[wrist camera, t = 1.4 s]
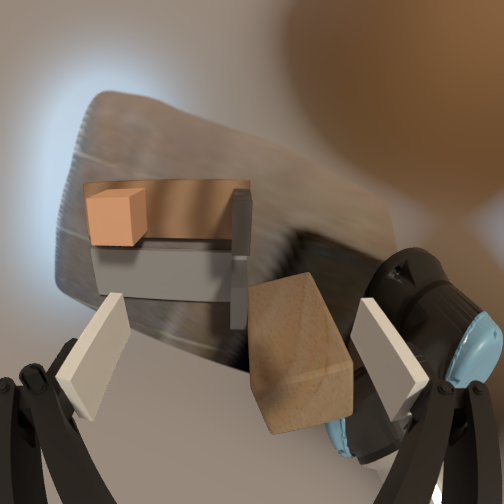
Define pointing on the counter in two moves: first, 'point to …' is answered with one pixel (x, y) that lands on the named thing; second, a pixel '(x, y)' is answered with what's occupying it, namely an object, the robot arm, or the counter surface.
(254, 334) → the wooden block
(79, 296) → the counter surface
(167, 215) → the walnut strip
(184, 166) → the counter surface
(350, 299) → the counter surface
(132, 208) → the terracotta cube
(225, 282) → the grey l-shaped block
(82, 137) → the counter surface
